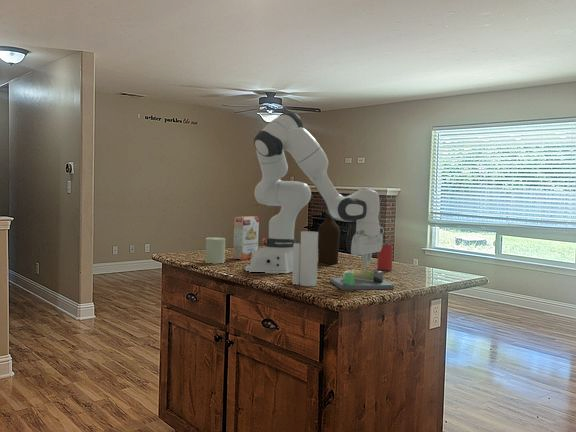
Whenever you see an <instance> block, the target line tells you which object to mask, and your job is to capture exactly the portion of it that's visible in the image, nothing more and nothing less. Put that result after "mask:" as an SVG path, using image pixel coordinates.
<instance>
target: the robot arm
mask: <svg viewBox="0 0 576 432" xmlns="http://www.w3.org/2000/svg"><path fill="white" fill-rule="evenodd" d="M253 145H254V146H253V147H254V149H255V151H256V156H257V160H258V163H259V166H260V170H261V174H262V175H261V180H260V181H259V182H258V183H257V184H256V186H255V188H254V197H255V200H256V201H257V203H258V204H261V205H264V206H265V205H266V206H268V207H270V206H271V207H280V211H279V212H278V213H277V214H275V215H274V216H272V217H271V218H270V219H269V221H268V237H267V238H265V237H263V238H262V239H261V242H262V243H263V247H261V248H259V249H258V251H257V252H256V253H255V254H253V256H252V258H251V259H250V263H249V265H246V266H245V268H244V270H245V272H247V271H249V272H248V273H250V272H265V273H264V274H279V273H286V274H289V273H293V244H294V243H296V238H295V225H296V220H297V217H298V215H299V213H300V212H301V210H302V209H303V208H304V207H305V206H307V205H308V204H309V202H310V201H311V198H312V190H311V188H310V186H309V185H308V184H307V183H305V182H302V181H297V180H295V181H294V180H282V178H284V177H285V176H286V175H287V173H288V170H289V165H288V162H287V157H286V154H285V151H286V152H288V153H289V154H290V155H291V157H292V158H293V160H294V161H295V162H296V164H297V166H298V167H299V168H300V170H302V172H303V173H304V174H305V175H306V177H308V179H309V180H310V181H311V182H312V184H313V185H314V187H315V189H316V190H317V191H318V193H319V195H320V196H321V198H322V199H323V202H324V204H325V208H326V211H327V212H328V215H329V216H330V217H331V218H332V219H333V220H334V221H336V222H338V221H342V222H353V221H356V226H355V233H354V235H353V236H352V240H351V245H350V254H351V255H352V256H360V258H361V260H362V266H369V265H370V264H371V259H372V256H373V254H374V253H378V252H380V251H381V249H382V243H384V242H383V240H384V238H383V237H384V236H383V234H384V232H385V229H384V228H383V227H381V226H380V220H379V215H380V211H381V210H380V208H381V207H380V195H379V193H378V191H376V190H374V189H370V188H364V187H363V188H361V187H360V188H359V189H358V190H356V191H354V192H353V193H350V194H349V195H347V196H344V195H342V194H340V193H339V192H338V191H337V188H335V186H334V184H333V183H332V181H331V179H330V178H329V175H328V167H329V159H328V156H327V154H326V152H325V151H324V149H323V148H322V146H321V145H320V143H319V142H318V141H317V140H316V138H315V137H314V136H313V135H312V134H311V133H310V132H309V131H308V130H307V129H306V128H305V127H304V124H303V121H302V119H301V117H300V116H299V115H298V114H297V113H296V112H294V111H285V112H283V113H281V114H280V115H279V116H277V117H276V118H274V119H273V120H270V122H269V123H268V124H267V125H266V126H264V127H263V129H261V130H259V131H258V133H257V134H255V137H254V138H253Z"/></svg>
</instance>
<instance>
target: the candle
mask: <svg viewBox="0 0 576 432" xmlns="http://www.w3.org/2000/svg"><path fill="white" fill-rule="evenodd" d="M291 281H292V282H291V283H292V285H294V284H296V285H295V286H303V287H315V286H317V285H318V284H317V283H318V231H314V230H313V231H308V230H307V231H306V230H305V231H304V230H303V231H300V243H298V242H297V243H296V242H295V243H294V244H293V272H292V279H291ZM299 284H300V285H299Z"/></svg>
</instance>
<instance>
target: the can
mask: <svg viewBox="0 0 576 432" xmlns="http://www.w3.org/2000/svg"><path fill="white" fill-rule="evenodd" d="M205 262H206V263H224V262H225V263H226V238H225V237H218V236H217V237H216V236H215V237H214V236H213V237H212V236H211V237H206V238H205ZM205 262H204V263H205ZM206 263H205V264H206ZM225 263H224V264H225Z"/></svg>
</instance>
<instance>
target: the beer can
mask: <svg viewBox="0 0 576 432" xmlns="http://www.w3.org/2000/svg"><path fill="white" fill-rule="evenodd" d="M393 251H394V249H393V244H392V243H391V242H382V249H381V251H380V252H377V264H376V266H377V267H376V268H377V271H382V270H383V272H388V271H392V270H393Z"/></svg>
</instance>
